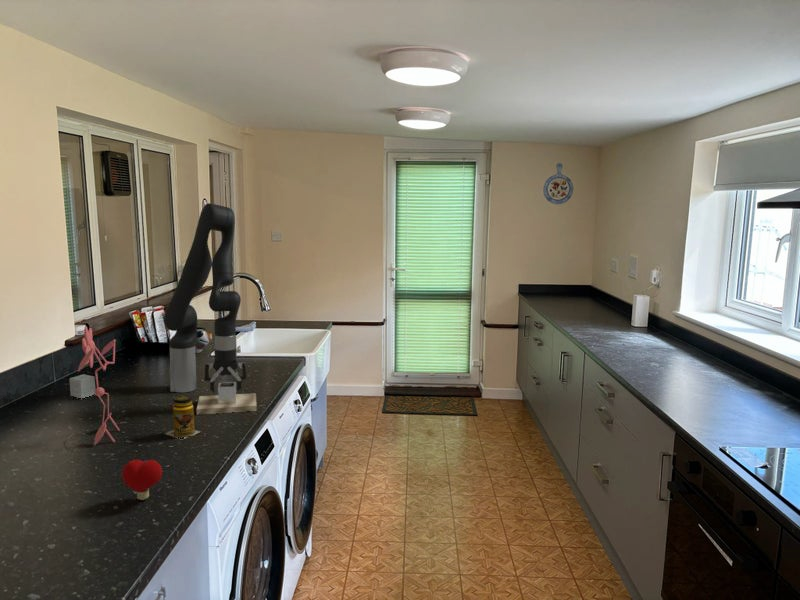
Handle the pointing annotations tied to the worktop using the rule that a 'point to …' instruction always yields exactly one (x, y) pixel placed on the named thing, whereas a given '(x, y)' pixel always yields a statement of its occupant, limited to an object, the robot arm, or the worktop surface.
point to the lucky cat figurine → (202, 340)
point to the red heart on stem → (141, 476)
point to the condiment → (183, 417)
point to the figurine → (89, 350)
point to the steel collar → (227, 393)
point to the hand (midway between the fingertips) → (225, 391)
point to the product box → (82, 386)
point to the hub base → (212, 407)
